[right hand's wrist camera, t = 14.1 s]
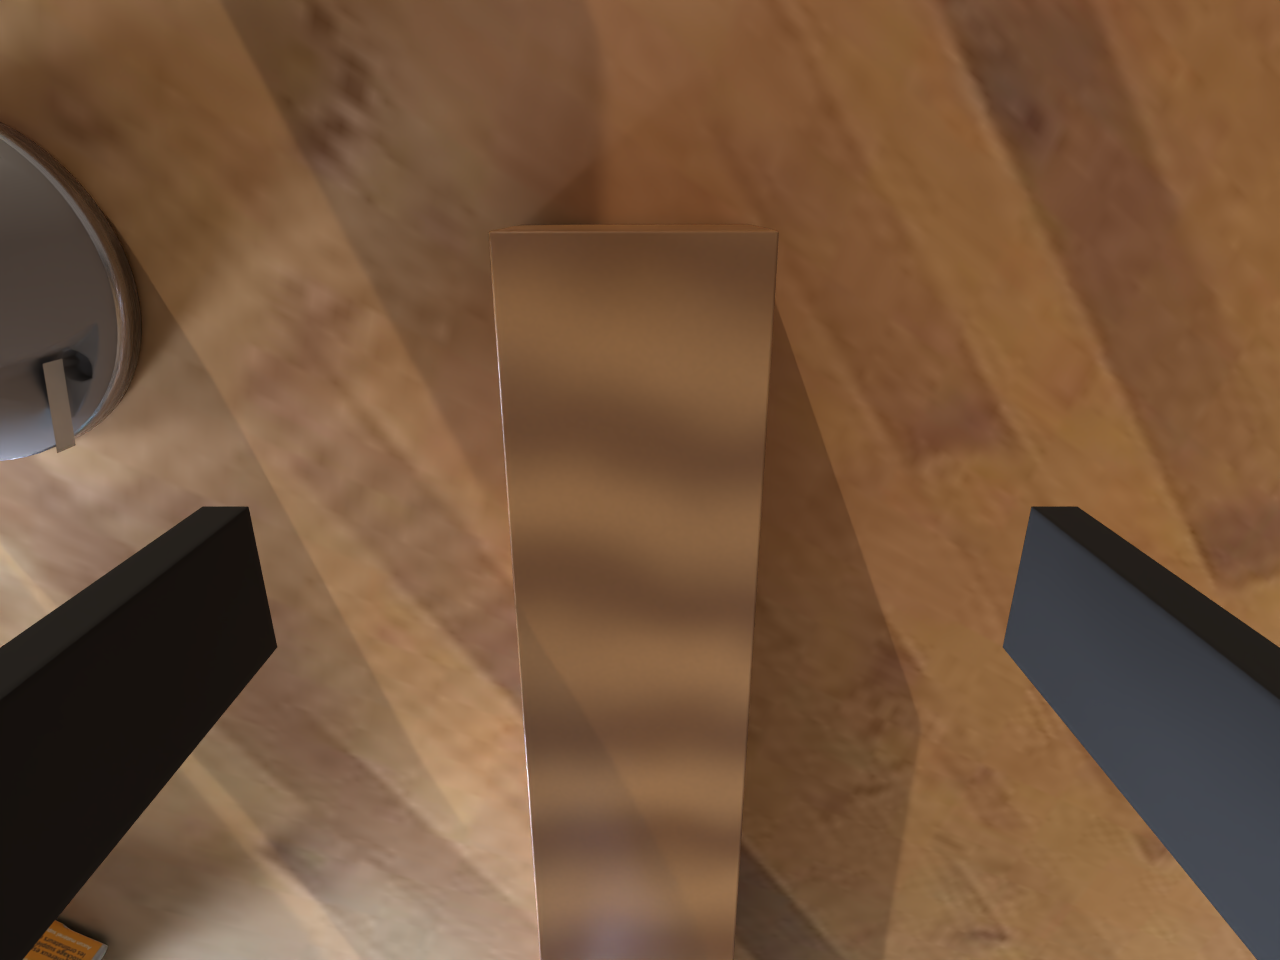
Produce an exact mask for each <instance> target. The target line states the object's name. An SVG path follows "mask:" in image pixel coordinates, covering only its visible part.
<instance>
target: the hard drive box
mask: <svg viewBox="0 0 1280 960" xmlns="http://www.w3.org/2000/svg"><path fill="white" fill-rule="evenodd" d="M107 948H108V946H107V945H105V944H103V943H101V942H99V941H96V940H94V939H91V938H89V937H87V936H84V935H82V934H80V933H77V932H75V931H73V930H71V929H69V928H68V927H67V926H65V925H64V924H63V923H61V922H58V921H56V920H55V921H54V922H53V923H52V924H51V926H50V927H49V928H48V929H47V931H46V932H45V933H44V934H43V935H42V937H41V938H40V939H39V940H38V942H37V943H36V944H35V945H34V947H33V948H32V949H31V950H30V951H29V953H28V954H27V955H26V956H25V958H24V959H23V960H102V958H103V956H104V954H105V953H106V950H107Z"/></svg>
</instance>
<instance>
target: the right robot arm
mask: <svg viewBox="0 0 1280 960" xmlns="http://www.w3.org/2000/svg"><path fill="white" fill-rule="evenodd" d="M140 344H141V312H140V303H139V298H138V293H137V288H136V284H135V281H134V277H133V274H132V271H131V267H130V265H129V262H128V260H127V257H126V255H125V252H124V250H123V248H122V246H121V244H120V242H119V240H118V238H117V236H116V234H115V232H114V230H113V229H112V227H111V225H110V224H109V222H108V220H107V219H106V217H105V215H104V214H103V213H102V211H101V210H100V208H99V207H98V206H97V204H96V203H95V201H94V200H93V199H92V197H91V196H90V195H89V194H88V193H87V191H86V190H85V189H84V188H83V187H82V185H81V184H80V183H79V182H78V181H77V180H76V179H75V178H74V177H73V176H72V175H71V174H70V173H69V172H68V171H67V170H66V169H65V168H64V167H63V166H62V165H61V164H60V163H59V162H58V161H57V160H55V159H54V158H53V157H52V156H51V155H50V154H49V153H47V152H46V151H45V150H43V149H42V148H41V147H39V146H38V145H37V144H35V143H34V142H33V141H31V140H30V139H28V138H27V137H25V136H24V135H22V134H21V133H19V132H17V131H16V130H14V129H12V128H11V127H9V126H7V125H5V124H3V123H1V122H0V461H2V460H10V459H16V458H22V457H27V456H31V455H34V454H38V453H41V452H43V451H46V450H48V449H51V448H53V447H56V448H57V453H58V452H61V451H63V450H65V449H68V448H70V447H72V446H75V445H76V444H75V438H77V437H79V436H81V435H83V434H84V433H86V432H88V431H90V430H91V429H92V428H94V427H95V426H97V425H98V424H99V423H101V422H102V421H103V420H104V419H105V418H106V417H107V416H108V415H109V414H110V413H111V412H112V411H113V410H114V408H115V407H116V406H117V405H118V404H119V402H120V400H121V399H122V397H123V396H124V394H125V393H126V391H127V389H128V387H129V385H130V382H131V380H132V378H133V375H134V372H135V369H136V366H137V362H138V357H139V352H140ZM276 648H277V644H276V639H275V634H274V629H273V624H272V619H271V614H270V610H269V605H268V600H267V595H266V590H265V585H264V580H263V575H262V571H261V566H260V561H259V556H258V551H257V546H256V541H255V536H254V532H253V527H252V522H251V517H250V512H249V507H201V508H200V509H199V510H197V511H196V512H194V513H193V514H191V515H190V516H189V517H187V518H186V519H184V520H183V521H181V522H180V523H179V524H177V525H176V526H174V527H173V528H171V529H170V530H169V531H167V532H166V533H164V534H163V535H161V536H160V537H158V538H157V539H156V540H154V541H153V542H151V543H150V544H148V545H147V546H146V547H144V548H143V549H141V550H140V551H138V552H137V553H136V554H134V555H133V556H131V557H130V558H128V559H127V560H125V561H124V562H123V563H121V564H120V565H118V566H117V567H115V568H114V569H113V570H111V571H110V572H108V573H107V574H105V575H104V576H103V577H101V578H100V579H98V580H97V581H95V582H94V583H93V584H91V585H90V586H88V587H87V588H85V589H84V590H82V591H81V592H80V593H78V594H77V595H75V596H74V597H72V598H71V599H70V600H68V601H67V602H65V603H64V604H62V605H61V606H60V607H58V608H57V609H55V610H54V611H52V612H51V613H50V614H48V615H47V616H45V617H44V618H42V619H41V620H39V621H38V622H37V623H35V624H34V625H32V626H31V627H29V628H28V629H27V630H25V631H24V632H22V633H21V634H19V635H18V636H17V637H15V638H14V639H12V640H11V641H9V642H8V643H6V644H5V645H4V646H2V647H1V648H0V960H23V959H24V958H25V956H26V955H27V954H28V953H29V951H30V950H31V949H32V948H33V947H34V945H35V944H36V943H37V942H38V940H39V939H40V938H41V937H42V935H43V934H44V933H45V932H46V931H47V929H48V928H49V927H50V926H51V924H52V923H53V922H54V921H55V920H56V918H57V917H58V916H59V915H60V913H61V912H62V911H63V910H64V908H65V907H66V906H67V905H68V904H69V902H70V901H71V900H72V899H73V897H74V896H75V895H76V894H77V892H78V891H79V890H80V889H81V888H82V886H83V885H84V884H85V883H86V881H87V880H88V879H89V878H90V877H91V875H92V874H93V873H94V872H95V870H96V869H97V868H98V867H99V865H100V864H101V863H102V862H103V861H104V859H105V858H106V857H107V856H108V854H109V853H110V852H111V851H112V850H113V848H114V847H115V846H116V845H117V843H118V842H119V841H120V840H121V838H122V837H123V836H124V835H125V834H126V832H127V831H128V830H129V829H130V827H131V826H132V825H133V824H134V822H135V821H136V820H137V819H138V818H139V816H140V815H141V814H142V813H143V811H144V810H145V809H146V808H147V807H148V805H149V804H150V803H151V802H152V800H153V799H154V798H155V797H156V795H157V794H158V793H159V792H160V791H161V789H162V788H163V787H164V786H165V784H166V783H167V782H168V781H169V780H170V778H171V777H172V776H173V775H174V773H175V772H176V771H177V770H178V768H179V767H180V766H181V765H182V764H183V762H184V761H185V760H186V759H187V757H188V756H189V755H190V754H191V752H192V751H193V750H194V749H195V748H196V746H197V745H198V744H199V743H200V741H201V740H202V739H203V738H204V737H205V735H206V734H207V733H208V732H209V730H210V729H211V728H212V727H213V725H214V724H215V723H216V722H217V721H218V719H219V718H220V717H221V716H222V714H223V713H224V712H225V711H226V710H227V708H228V707H229V706H230V705H231V703H232V702H233V701H234V700H235V698H236V697H237V696H238V695H239V694H240V692H241V691H242V690H243V689H244V687H245V686H246V685H247V684H248V682H249V681H250V680H251V679H252V678H253V676H254V675H255V674H256V673H257V671H258V670H259V669H260V668H261V667H262V665H263V664H264V663H265V662H266V660H267V659H268V658H269V657H270V655H271V654H272V653H273V652H274V651H275V649H276ZM1003 648H1004V649H1005V651H1006V652H1007V653H1008V654H1009V655H1010V657H1011V658H1012V659H1013V660H1014V662H1015V663H1016V664H1017V665H1018V667H1019V668H1020V669H1021V670H1022V671H1023V673H1024V674H1025V675H1026V676H1027V678H1028V679H1029V680H1030V681H1031V682H1032V684H1033V685H1034V686H1035V687H1036V689H1037V690H1038V691H1039V692H1040V694H1041V695H1042V696H1043V697H1044V698H1045V700H1046V701H1047V702H1048V703H1049V705H1050V706H1051V707H1052V708H1053V710H1054V711H1055V712H1056V713H1057V714H1058V716H1059V717H1060V718H1061V719H1062V721H1063V722H1064V723H1065V724H1066V725H1067V727H1068V728H1069V729H1070V730H1071V732H1072V733H1073V734H1074V735H1075V737H1076V738H1077V739H1078V740H1079V741H1080V743H1081V744H1082V745H1083V746H1084V748H1085V749H1086V750H1087V751H1088V752H1089V754H1090V755H1091V756H1092V757H1093V759H1094V760H1095V761H1096V762H1097V764H1098V765H1099V766H1100V767H1101V768H1102V770H1103V771H1104V772H1105V773H1106V775H1107V776H1108V777H1109V778H1110V780H1111V781H1112V782H1113V783H1114V784H1115V786H1116V787H1117V788H1118V789H1119V791H1120V792H1121V793H1122V794H1123V795H1124V797H1125V798H1126V799H1127V800H1128V802H1129V803H1130V804H1131V805H1132V807H1133V808H1134V809H1135V810H1136V811H1137V813H1138V814H1139V815H1140V816H1141V818H1142V819H1143V820H1144V821H1145V822H1146V824H1147V825H1148V826H1149V827H1150V829H1151V830H1152V831H1153V832H1154V834H1155V835H1156V836H1157V837H1158V838H1159V840H1160V841H1161V842H1162V843H1163V845H1164V846H1165V847H1166V848H1167V850H1168V851H1169V852H1170V853H1171V854H1172V856H1173V857H1174V858H1175V859H1176V861H1177V862H1178V863H1179V864H1180V865H1181V867H1182V868H1183V869H1184V870H1185V872H1186V873H1187V874H1188V875H1189V877H1190V878H1191V879H1192V880H1193V881H1194V883H1195V884H1196V885H1197V886H1198V888H1199V889H1200V890H1201V891H1202V892H1203V894H1204V895H1205V896H1206V897H1207V899H1208V900H1209V901H1210V902H1211V904H1212V905H1213V906H1214V907H1215V908H1216V910H1217V911H1218V912H1219V913H1220V915H1221V916H1222V917H1223V918H1224V920H1225V921H1226V922H1227V923H1228V924H1229V926H1230V927H1231V928H1232V929H1233V931H1234V932H1235V933H1236V934H1237V935H1238V937H1239V938H1240V939H1241V940H1242V942H1243V943H1244V944H1245V945H1246V947H1247V948H1248V949H1249V950H1250V951H1251V953H1252V954H1253V955H1254V956H1255V958H1256V959H1257V960H1280V648H1279V647H1278V646H1276V645H1275V644H1274V643H1272V642H1271V641H1269V640H1268V639H1266V638H1265V637H1263V636H1262V635H1261V634H1259V633H1258V632H1256V631H1255V630H1253V629H1252V628H1251V627H1249V626H1248V625H1246V624H1245V623H1243V622H1242V621H1241V620H1239V619H1238V618H1236V617H1235V616H1233V615H1232V614H1230V613H1229V612H1228V611H1226V610H1225V609H1223V608H1222V607H1220V606H1219V605H1218V604H1216V603H1215V602H1213V601H1212V600H1210V599H1209V598H1208V597H1206V596H1205V595H1203V594H1202V593H1200V592H1199V591H1198V590H1196V589H1195V588H1193V587H1192V586H1190V585H1189V584H1187V583H1186V582H1185V581H1183V580H1182V579H1180V578H1179V577H1177V576H1176V575H1175V574H1173V573H1172V572H1170V571H1169V570H1167V569H1166V568H1165V567H1163V566H1162V565H1160V564H1159V563H1157V562H1156V561H1155V560H1153V559H1152V558H1150V557H1149V556H1147V555H1146V554H1144V553H1143V552H1142V551H1140V550H1139V549H1137V548H1136V547H1134V546H1133V545H1132V544H1130V543H1129V542H1127V541H1126V540H1124V539H1123V538H1122V537H1120V536H1119V535H1117V534H1116V533H1114V532H1113V531H1111V530H1110V529H1109V528H1107V527H1106V526H1104V525H1103V524H1101V523H1100V522H1099V521H1097V520H1096V519H1094V518H1093V517H1091V516H1090V515H1089V514H1087V513H1086V512H1084V511H1083V510H1081V509H1080V508H1079V507H1031V512H1030V517H1029V522H1028V527H1027V532H1026V536H1025V541H1024V546H1023V551H1022V556H1021V561H1020V566H1019V571H1018V575H1017V580H1016V585H1015V590H1014V595H1013V600H1012V605H1011V610H1010V614H1009V619H1008V624H1007V629H1006V634H1005V639H1004V644H1003Z"/></svg>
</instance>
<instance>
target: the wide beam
mask: <svg viewBox="0 0 1280 960" xmlns="http://www.w3.org/2000/svg"><path fill="white" fill-rule="evenodd" d="M778 238H779V232H778V231H777V230H772V229H768V228H763V227H759V226H754V225H749V224H585V225H518V226H513V227H508V228H503V229H498V230H493V231H490V232H489V247H490V262H491V276H492V290H493V304H494V318H495V332H496V346H497V360H498V374H499V388H500V402H501V416H502V430H503V444H504V458H505V472H506V486H507V500H508V514H509V528H510V542H511V556H512V570H513V584H514V598H515V612H516V626H517V640H518V654H519V668H520V682H521V697H522V711H523V725H524V739H525V753H526V767H527V781H528V795H529V809H530V823H531V837H532V851H533V865H534V879H535V893H536V907H537V921H538V935H539V949H540V960H734V946H735V930H736V914H737V898H738V882H739V865H740V849H741V833H742V817H743V801H744V785H745V769H746V753H747V737H748V721H749V705H750V688H751V672H752V656H753V640H754V624H755V608H756V592H757V576H758V560H759V544H760V528H761V511H762V495H763V479H764V463H765V447H766V431H767V415H768V399H769V383H770V367H771V351H772V334H773V318H774V302H775V286H776V270H777V254H778Z"/></svg>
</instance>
